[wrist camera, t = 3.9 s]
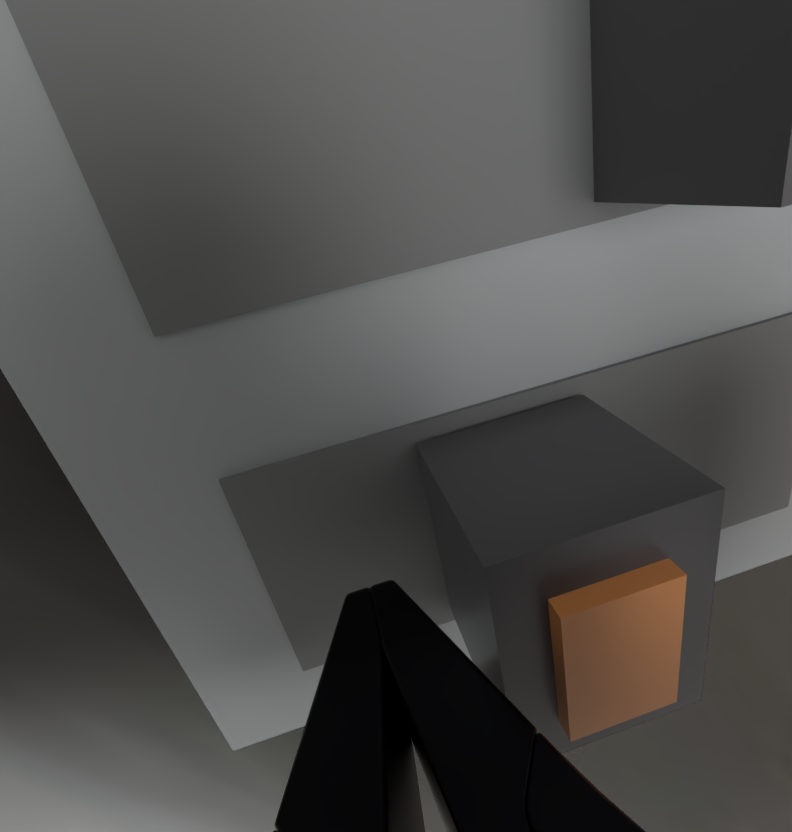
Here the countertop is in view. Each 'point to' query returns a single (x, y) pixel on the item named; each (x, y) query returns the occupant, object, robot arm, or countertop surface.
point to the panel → (380, 281)
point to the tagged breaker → (577, 565)
